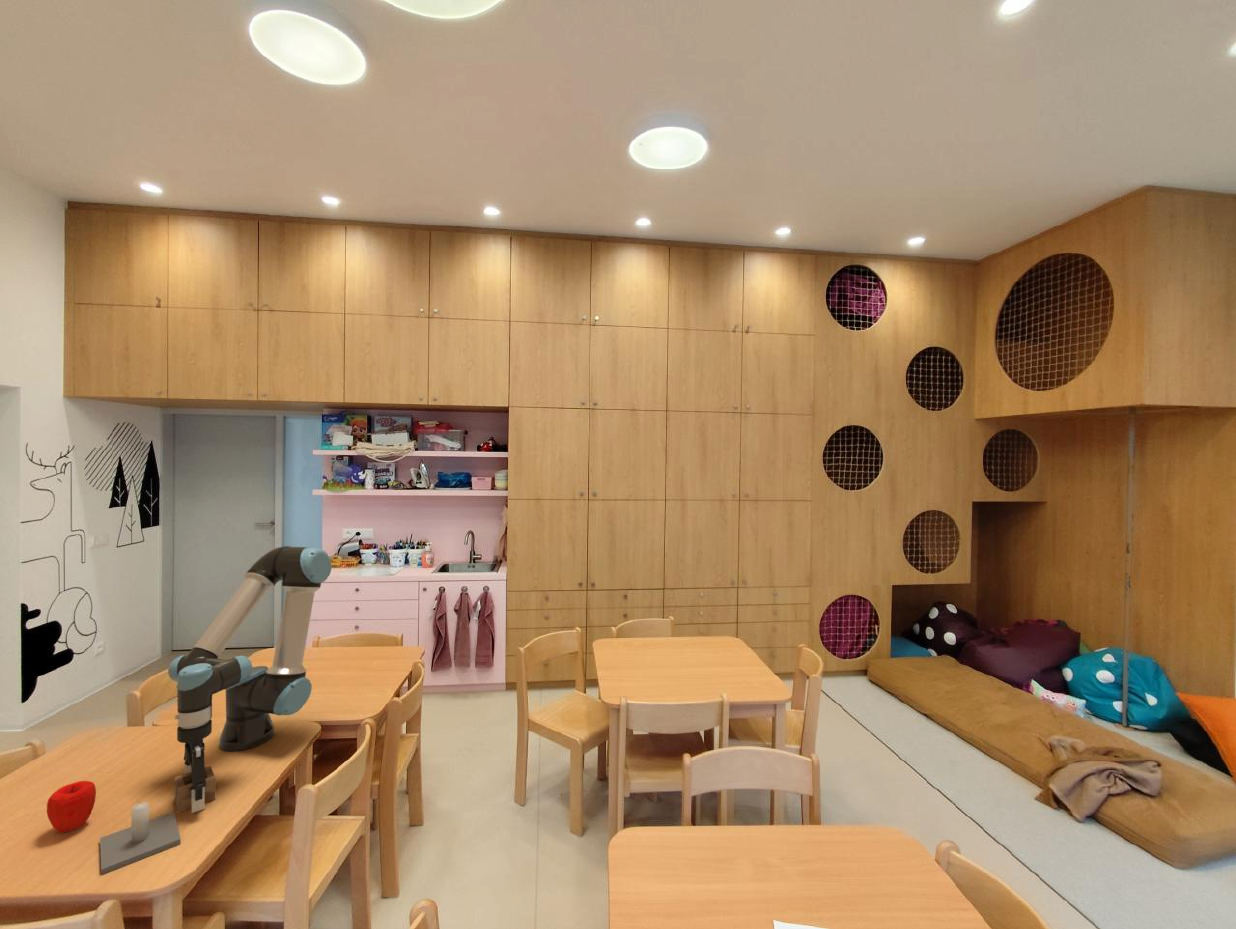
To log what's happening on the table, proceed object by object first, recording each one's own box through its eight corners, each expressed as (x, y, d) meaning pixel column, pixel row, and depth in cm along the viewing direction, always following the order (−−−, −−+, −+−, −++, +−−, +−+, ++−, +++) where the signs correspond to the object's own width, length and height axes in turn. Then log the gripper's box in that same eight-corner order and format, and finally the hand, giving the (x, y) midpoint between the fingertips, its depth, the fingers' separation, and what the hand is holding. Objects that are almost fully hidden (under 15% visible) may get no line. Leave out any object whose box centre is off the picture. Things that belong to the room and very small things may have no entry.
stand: (173, 816, 141) (173, 781, 141) (180, 843, 131) (180, 806, 131) (100, 842, 131) (100, 805, 131) (101, 874, 121) (101, 834, 121)
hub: (210, 786, 154) (210, 765, 154) (215, 799, 148) (215, 777, 148) (174, 798, 148) (174, 777, 148) (178, 812, 143) (178, 790, 142)
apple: (64, 842, 131) (64, 799, 131) (36, 838, 133) (36, 795, 132) (105, 818, 140) (105, 777, 140) (78, 814, 141) (78, 774, 141)
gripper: (172, 711, 154) (171, 784, 154) (183, 745, 136) (182, 827, 137) (204, 703, 159) (204, 773, 160) (219, 734, 142) (219, 814, 142)
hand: (194, 798), depth 148 cm, fingers open, 13 cm apart
